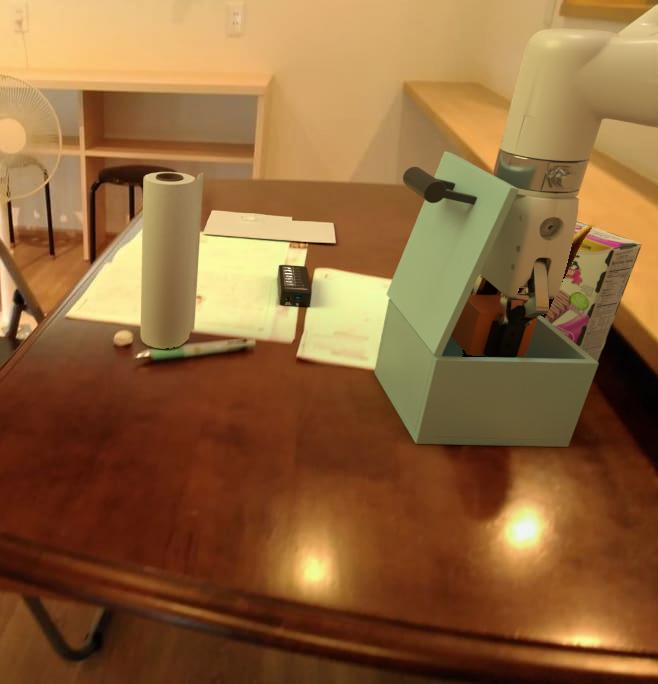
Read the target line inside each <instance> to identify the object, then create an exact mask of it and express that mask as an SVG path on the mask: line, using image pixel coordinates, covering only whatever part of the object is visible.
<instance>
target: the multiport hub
mask: <svg viewBox="0 0 658 684" xmlns="http://www.w3.org/2000/svg"><path fill="white" fill-rule="evenodd" d="M276 280H277V291H278V304H279V305H280V306H285V307H286V306H287V307H300V308H310V307H311V303H312V294H313V291H312V286H311V280H310V275H309V270H308V267H307V266H304V265H291V264H279V265H278V268H277V279H276Z"/></svg>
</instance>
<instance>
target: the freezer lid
mask: <svg viewBox="0 0 658 684" xmlns="http://www.w3.org/2000/svg"><path fill="white" fill-rule="evenodd" d="M492 174H493V173H490V172H488V171H486V170H484V169H482V167H481V168H480V167H479V166H477V165H475V164H473V163H472V162H470V161H467V160H466V159H464V158H462V157H461V156H459V155H456V154H455V153H453V152H450V151H444V152H443V155H442V157H441V159H440V162H439V164H438V167H437V169H436V172H435V174H434V176H433V175H431V174H430V173H428V172H427V171H425V170H424V169H422V168H421V167H419V166H411V167H409V168H408V169H406V170H405V172H404V173H403V176H402V181H403V183H404V185H405V186H406V187H408V188H409V189H410V190H412V191H413V192H414V193H415V194H417V195H418V196H420V198H422V199H424V201H423V203H422V205H421V206H422V207H421V208H420V209H421V211H420V213H418V216H417V217H418V218H416V221H415V223H414V226H413V228H412V230H411V232H410V235H409V238H408V240H407V243H406V245H405V247H404V249H403V253H402V255H401V256H400V260H399V262H398V265H397V267H396V269H395V272H394V274H393V277H392V279H391V282H390V284H389V287H388V289H387V291H386V296H387V297H388V299H391V301H392V302H393V303H394V304H395V306H396V307H397V308H398V310H399V311H400V312H401V313H402V315H403V316H404V317H405V318H406V320H407V321H408V322H409V324H410V325H411V326H412V327H413V329H414V330H415V331H416V333H417V334H418V335H419V336H420V338H421V339H422V340H423V341H424V343H425V344H426V345H427V347H428V348H429V349H430V350H431V352H432V353H433V354H434V355H439V356H441V355H442V353H443V351H444V349H445V347H446V345H447V342H448V340H449V338H450V336H451V334H452V332H453V330H454V328H455V325H456V323H457V321H458V319H459V317H460V315H461V313H462V310H463V308H464V306H465V304H466V302H467V300H468V298H469V295H470V293H471V291H472V289H473V287H474V285H475V283H476V281H477V278H478V276H479V274H480V272H481V270H482V268H483V266H484V263H485V261H486V259H487V257H488V255H489V253H490V251H491V248H492V246H493V244H494V242H495V240H496V238H497V236H498V234H499V231H500V229H501V227H502V225H503V223H504V221H505V219H506V216H507V214H508V212H509V210H510V208H511V206H512V204H513V201H514V199H515V197H516V195H517V193H518V191H519V189H518V188H516V187H514V186H512V185H510V184H508V183H507V182H505V181H503V180H501V179H499V178H497V177H495V176H494V175H492Z"/></svg>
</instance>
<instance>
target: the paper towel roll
mask: <svg viewBox="0 0 658 684" xmlns="http://www.w3.org/2000/svg"><path fill="white" fill-rule="evenodd" d="M204 174H205V173H204V172H201V173H199V174H198V175H197V178H196V177H194V176H193V175H190V174H188V173H184V172H183V173H182V172H175V171H174V172H173V171H158V172H151V173H148V174H145V175H144V176H143V183H142V185H143V186H142V227H141V229H142V231H141V232H142V237H141V238H142V239H141V277H140V279H141V281H140V282H141V283H140V286H141V287H140V290H141V291H140V329H139V330H140V335H139V337H140V339H141V342H142V343H143V344H144V345H146V346H148V347H151V348H154V349H160V350H161V349H162V350H167V349H166V348H169V349H174V348H173V347H175V348H179V347H181V346H182V345H184V344H185V343H187V341H189V340H190V335H191V332H192V331H193V330H195V326H196V325H195V324H196V309H197V308H196V307H197V291H198V289H197V288H198V274H199V256H200V255H199V254H200V242H201V241H200V240H201V226H202V225H201V223H202V222H201V221H202V208H203V207H202V206H203V190H204V188H203V187H204Z"/></svg>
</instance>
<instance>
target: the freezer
mask: <svg viewBox="0 0 658 684" xmlns="http://www.w3.org/2000/svg"><path fill="white" fill-rule="evenodd" d="M380 336H381V337H380V340H379V341H380V342H379V347H378V352H377V357H376V361H375V367H374V372H373V373H374V376H375V377H376V379H377V381H378V382H379V384H380V386H381V387H382V389H383V390H384V392H385V394H386V396H387V397H388V399H389V401H390V403H391V404H392V406H393V408H394V410H395V411H396V412H397V414H398V416H399V418H400V420H401V421H402V423H403V425H404V426H405V428H406V430H407V431H408V433H409V434H410V437H411V438H412V440H413V442H414V443H415V444H416V445H451V446H452V445H454V446H456V445H457V446H496V447H497V446H499V447H500V446H501V447H503V446H504V447H548V448H549V447H553V448H556V447H557V448H568V447H569V446H570V443H571V440H572V437H573V435H574V432H575V429H576V427H577V424H578V421H579V419H580V416H581V414H582V411H583V407H584V406H585V402H586V398H587V397H588V394H589V391H590V388H591V386H592V383H593V381H594V378H595V375H596V372H597V370H598V367H599V361H598V362H597V361H596V360H594V359H593V358H592V357H591V356H590V355H588V354H587V353H586V352H585V351H584V350H582V349H581V348H580V347H579V346H578V345H576V344H575V343H574V342H573V341H572V340H570V339H569V338H568V337H567V336H566V335H564V334H563V333H562V332H561V331H560V330H558V329H557V328H556V327H555V326H553V325H552V324H551V323H550V322H549V321H547V320H546V319H545V318H544V317H543V316H538V318H537V321H536V325H535V328H534V331H533V334H532V337H531V340H530V343H529V347H528V350H527V353H526V356H525V357H515V358H501V357H462V356H463V355H462V354H464V353H463V351H462V350H463V349H462V348H461V347H460V346H459V345H458V343H457V342H456V341H455V340H454V339H453V338H452V337H451V336H450V338H449V340H448V342H447V345H446V347H445V349H444V351H443V353H442V355H441V356H439V355H434V354H433V353H432V352H431V350H430V349H429V348H428V347H427V345H426V344H425V343H424V341H423V340H422V339H421V338H420V336H419V335H418V334H417V333H416V331H415V330H414V329H413V327H412V326H411V325H410V324H409V322H408V321H407V320H406V318H405V317H404V316H403V315H402V313H401V312H400V311H399V310H398V308H397V307H396V306H395V304H394V303H393V302H392V301H391V299H390V298H388V302H387V306H386V312H385V317H384V322H383V327H382V331H381V335H380Z"/></svg>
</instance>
